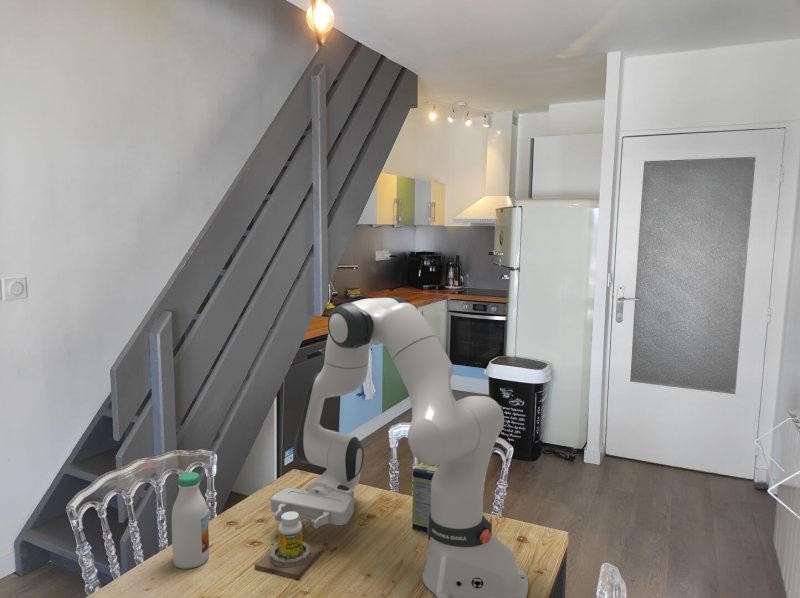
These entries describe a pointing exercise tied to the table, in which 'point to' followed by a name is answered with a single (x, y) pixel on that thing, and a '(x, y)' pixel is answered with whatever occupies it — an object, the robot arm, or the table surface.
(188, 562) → the milk bottle
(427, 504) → the protein box
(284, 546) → the supplement bottle
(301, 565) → the collar board
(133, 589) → the table surface
